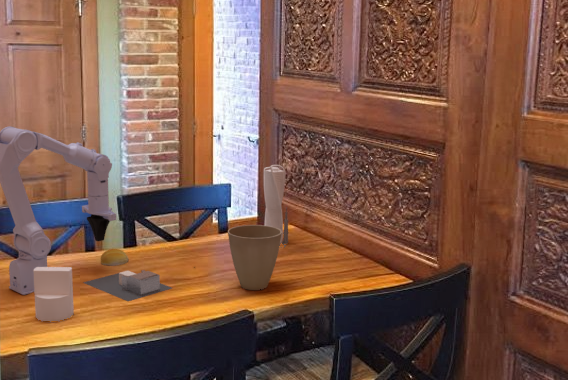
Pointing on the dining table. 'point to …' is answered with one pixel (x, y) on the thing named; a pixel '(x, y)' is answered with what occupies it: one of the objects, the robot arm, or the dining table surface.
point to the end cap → (141, 283)
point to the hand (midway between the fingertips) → (99, 240)
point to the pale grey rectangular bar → (124, 274)
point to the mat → (118, 287)
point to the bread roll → (114, 257)
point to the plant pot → (254, 254)
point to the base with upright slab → (53, 293)
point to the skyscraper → (275, 200)
